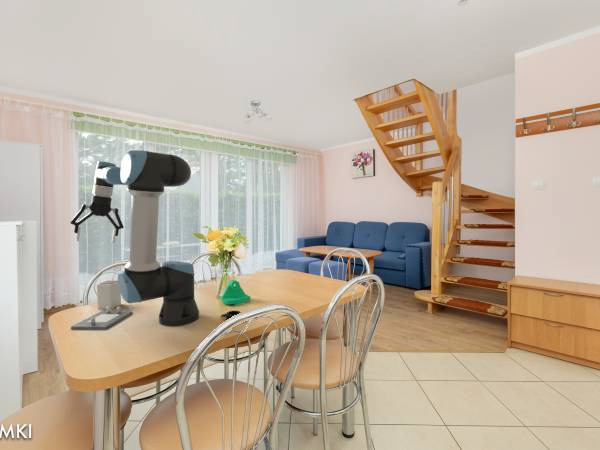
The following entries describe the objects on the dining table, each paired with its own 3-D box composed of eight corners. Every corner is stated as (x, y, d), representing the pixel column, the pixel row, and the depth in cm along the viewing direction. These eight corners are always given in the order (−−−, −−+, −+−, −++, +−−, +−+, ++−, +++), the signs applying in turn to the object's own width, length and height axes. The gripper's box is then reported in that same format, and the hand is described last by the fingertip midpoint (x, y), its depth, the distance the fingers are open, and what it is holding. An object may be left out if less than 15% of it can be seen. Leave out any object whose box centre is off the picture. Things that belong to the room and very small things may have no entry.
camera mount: (227, 307, 137) (227, 284, 136) (221, 303, 143) (220, 281, 142) (251, 302, 144) (251, 281, 143) (244, 298, 150) (243, 278, 149)
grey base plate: (132, 313, 127) (132, 305, 127) (105, 329, 111) (105, 320, 110) (102, 313, 128) (102, 305, 128) (71, 329, 111) (70, 319, 111)
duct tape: (231, 326, 115) (231, 318, 115) (219, 318, 122) (218, 311, 122) (248, 321, 120) (248, 314, 120) (235, 314, 127) (235, 307, 127)
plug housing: (120, 304, 140) (120, 280, 139) (111, 309, 133) (110, 284, 132) (108, 304, 140) (107, 280, 139) (97, 309, 133) (96, 283, 132)
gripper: (131, 199, 148) (124, 242, 149) (67, 190, 132) (60, 238, 132) (134, 200, 142) (127, 244, 143) (68, 191, 126) (61, 241, 127)
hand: (95, 241), depth 138 cm, fingers open, 13 cm apart
